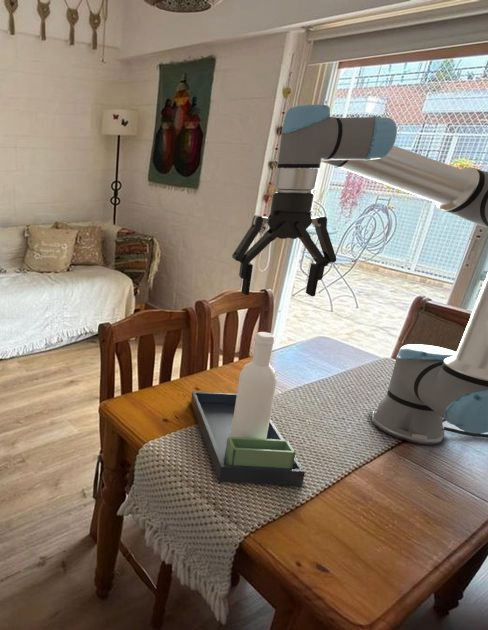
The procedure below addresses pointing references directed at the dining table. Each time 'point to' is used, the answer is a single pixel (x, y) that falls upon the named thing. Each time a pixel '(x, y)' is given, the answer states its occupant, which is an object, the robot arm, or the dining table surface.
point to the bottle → (255, 392)
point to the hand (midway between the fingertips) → (277, 294)
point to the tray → (216, 428)
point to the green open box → (259, 453)
